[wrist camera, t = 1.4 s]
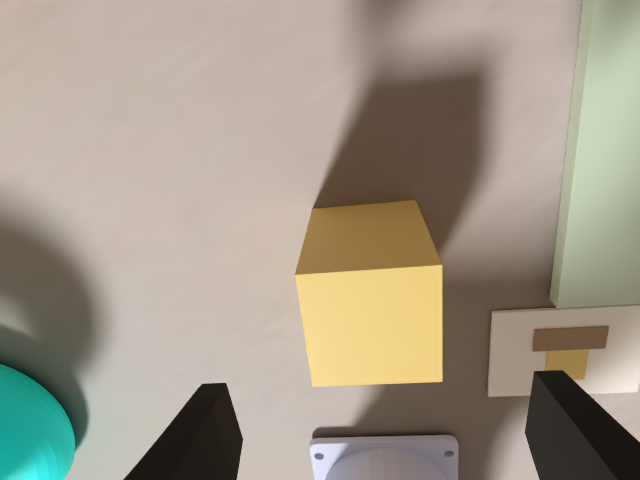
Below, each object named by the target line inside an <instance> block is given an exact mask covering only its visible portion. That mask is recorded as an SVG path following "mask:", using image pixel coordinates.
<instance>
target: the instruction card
mask: <svg viewBox="0 0 640 480" xmlns="http://www.w3.org/2000/svg"><path fill="white" fill-rule="evenodd" d="M549 370H563V371H564V372H565V373H567V374H568V375H569V376H570V377H571V378H572V379H573V380H574V381H575V382H576V383H577V384H578V385H579V386H580V387H581V388H582V389H583V390H584V391H585V392H586V393H588V394H597V393H628V392H638V388H639V383H640V304H626V305H607V306H589V307H570V308H537V309H519V310H500V311H492V313H491V333H490V352H489V371H488V391H487V395H488V397H504V396H530V395H531V388H532V382H533V375H534V371H549Z"/></svg>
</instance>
